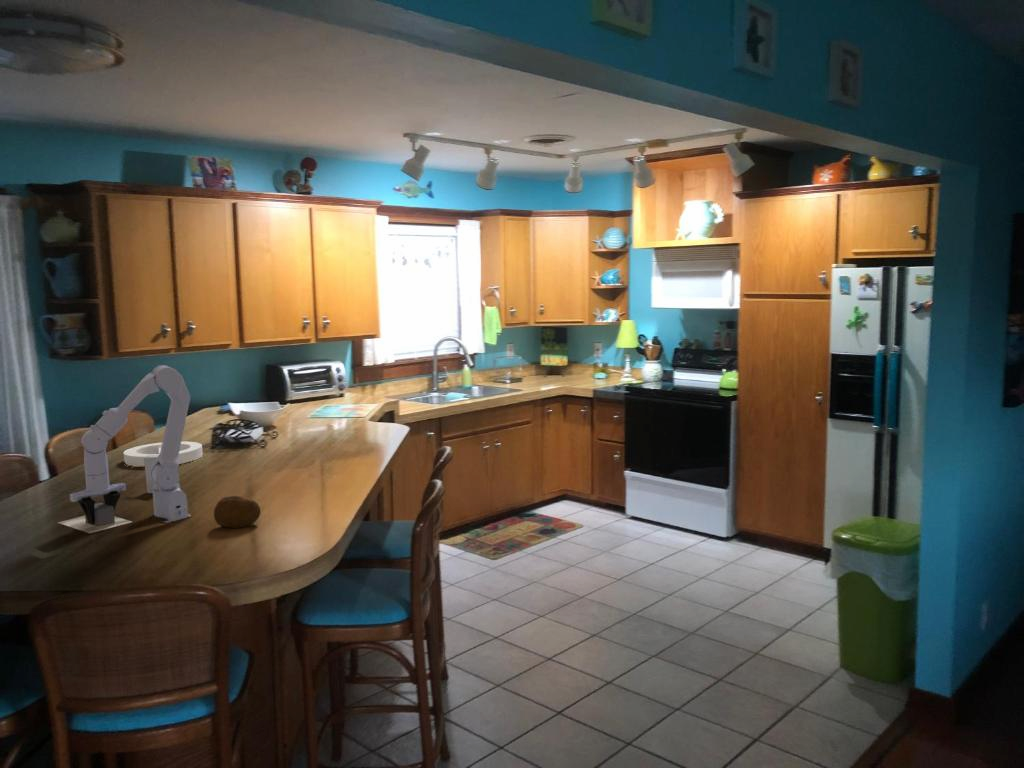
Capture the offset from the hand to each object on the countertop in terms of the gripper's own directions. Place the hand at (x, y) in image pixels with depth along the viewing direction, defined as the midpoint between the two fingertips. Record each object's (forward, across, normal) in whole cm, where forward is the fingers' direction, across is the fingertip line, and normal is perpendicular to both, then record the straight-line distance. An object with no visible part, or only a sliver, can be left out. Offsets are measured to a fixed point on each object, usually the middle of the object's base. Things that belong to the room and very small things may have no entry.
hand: (100, 521), depth 219 cm
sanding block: (+1, 0, 0) cm, 1 cm away
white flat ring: (+3, -60, -68) cm, 90 cm away
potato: (+2, -21, +32) cm, 38 cm away
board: (+2, 0, -4) cm, 4 cm away
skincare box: (+2, -31, -24) cm, 39 cm away
